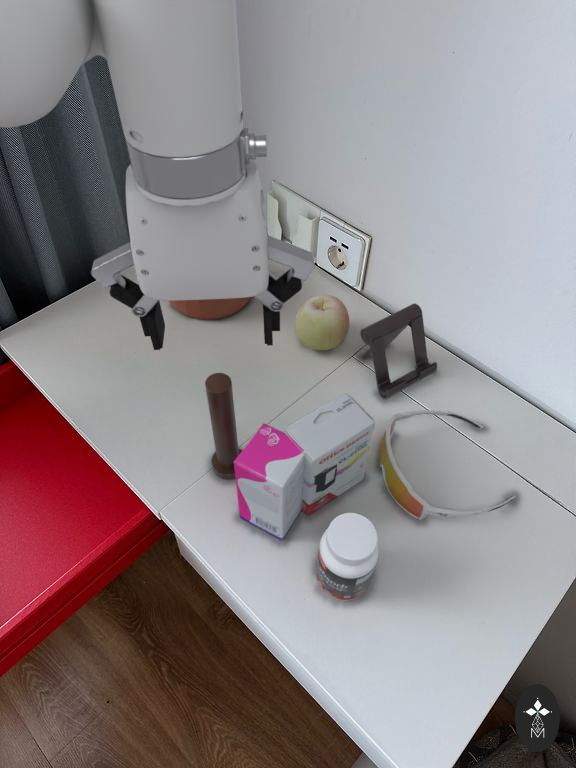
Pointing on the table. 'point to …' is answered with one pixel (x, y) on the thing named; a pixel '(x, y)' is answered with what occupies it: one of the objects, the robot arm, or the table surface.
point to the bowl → (209, 307)
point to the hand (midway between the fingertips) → (214, 336)
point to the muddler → (222, 424)
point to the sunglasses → (398, 483)
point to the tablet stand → (383, 335)
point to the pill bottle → (347, 556)
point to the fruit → (322, 322)
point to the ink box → (332, 449)
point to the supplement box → (270, 481)
